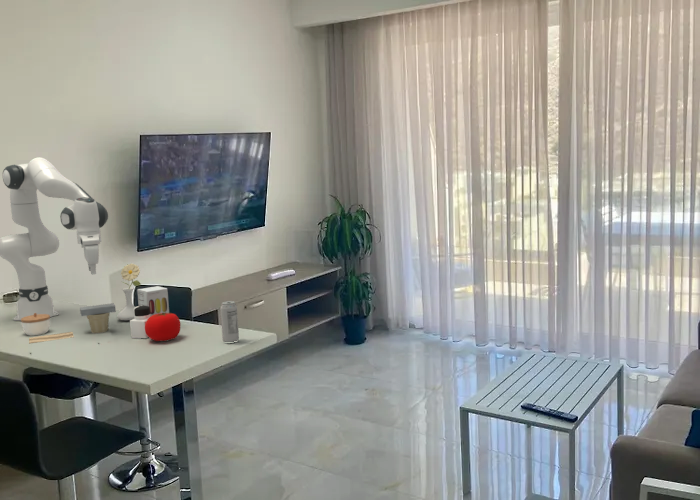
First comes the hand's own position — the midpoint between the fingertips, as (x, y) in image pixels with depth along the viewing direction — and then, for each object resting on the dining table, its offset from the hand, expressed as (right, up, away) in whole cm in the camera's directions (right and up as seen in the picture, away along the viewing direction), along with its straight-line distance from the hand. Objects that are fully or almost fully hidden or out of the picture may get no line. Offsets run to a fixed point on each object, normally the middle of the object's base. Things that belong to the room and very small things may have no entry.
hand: (92, 272), depth 268 cm
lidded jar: (-24, -26, +4) cm, 36 cm away
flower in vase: (+8, -22, +25) cm, 34 cm away
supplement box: (+23, -24, +7) cm, 34 cm away
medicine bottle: (+22, -25, -5) cm, 34 cm away
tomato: (+32, -26, -11) cm, 43 cm away
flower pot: (+2, -25, +3) cm, 25 cm away
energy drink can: (+59, -25, -20) cm, 67 cm away
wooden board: (-15, -27, -4) cm, 31 cm away
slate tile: (+2, -16, +2) cm, 17 cm away
